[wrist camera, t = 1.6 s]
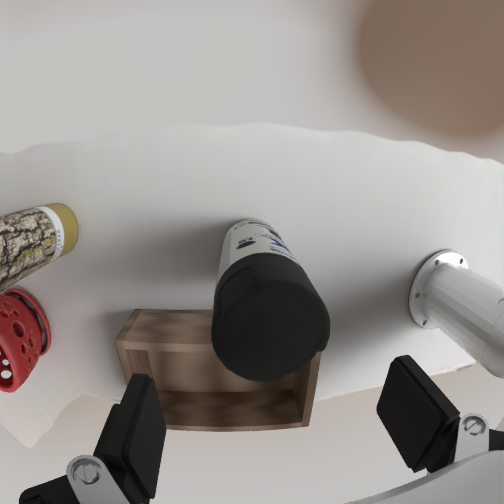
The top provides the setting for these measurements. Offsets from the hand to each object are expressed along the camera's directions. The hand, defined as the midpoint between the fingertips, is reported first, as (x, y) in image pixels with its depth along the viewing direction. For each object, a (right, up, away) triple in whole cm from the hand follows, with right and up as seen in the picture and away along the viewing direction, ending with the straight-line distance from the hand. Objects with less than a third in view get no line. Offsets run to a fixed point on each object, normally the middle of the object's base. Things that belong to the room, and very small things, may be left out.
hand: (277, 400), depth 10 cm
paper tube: (-26, +9, +22) cm, 35 cm away
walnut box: (-5, -8, +28) cm, 29 cm away
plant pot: (-37, -5, +25) cm, 45 cm away
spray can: (-1, +6, +24) cm, 25 cm away
